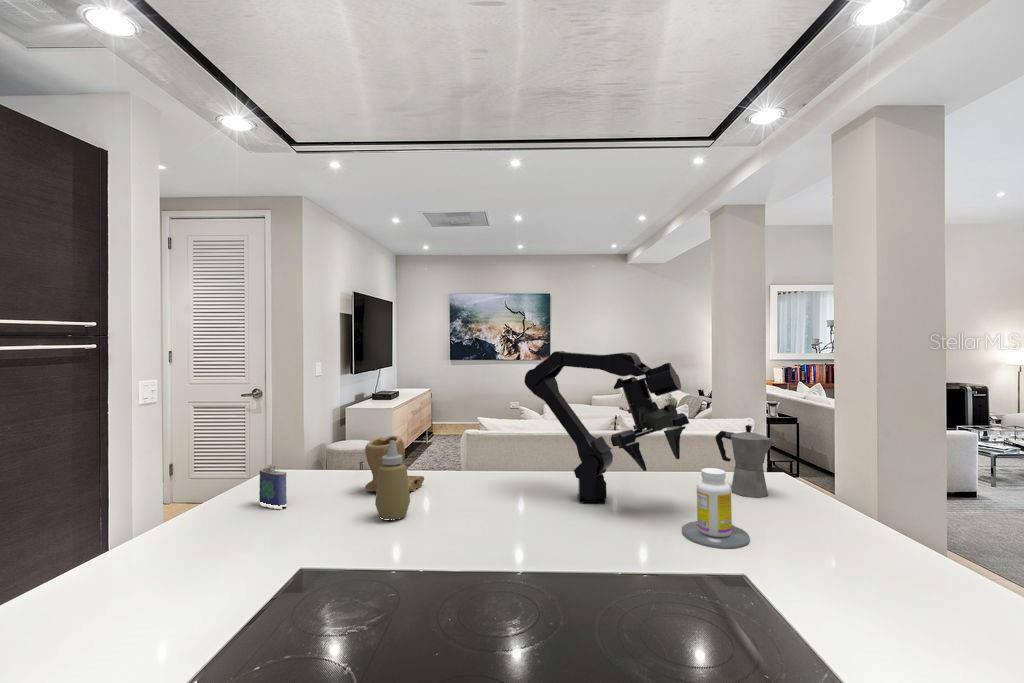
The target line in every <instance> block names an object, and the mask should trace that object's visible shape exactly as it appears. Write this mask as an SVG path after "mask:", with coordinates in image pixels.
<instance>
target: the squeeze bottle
mask: <svg viewBox="0 0 1024 683" xmlns="http://www.w3.org/2000/svg"><path fill="white" fill-rule="evenodd" d="M382 464H383V465H381V466H380V467H379V468H378V478H377V489H376V492H375V504H374V505H375V508H376V510H377V513H378V516H379V518H380V517H381V518H383V519H389V520H391V519H392V520H393V519H399V518H402V517H404V516H405V515H406V516H407V512H408V510H409V506H410V502H411V497H410V496H411V494H410V491H409V485H408V476H409V475H408V471H407V469H408V467H407V465H406V464H405V463H402V455H400V454H398V452H397V448H396V444H395V440H390V442H389V447H388V452H387V455H385V456H383V457H382ZM406 516H405V517H406ZM405 517H404V518H405ZM381 518H380V519H381ZM402 519H403V518H402ZM399 520H400V519H399Z"/></svg>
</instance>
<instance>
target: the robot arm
mask: <svg viewBox="0 0 1024 683" xmlns="http://www.w3.org/2000/svg"><path fill="white" fill-rule="evenodd" d="M565 367H570V368H579V369H580V368H581V369H589V370H590V369H593V370H600V371H603V372H606V373H609V374H611V375H616V376H618V377H619V378H617V379H616V382H615V384H614V386H613V389H614V390H618V389H622V390H623V394H624V396H625V400H626V401H627V404H628V405H627V406H628V409H627V412H628V414H631V417H632V420H633V422H634V425H632V426H633V429H627V430H622V431H619V432H616V433H612V434H611V435H610V436H611V437H610V442H611V445H612V447H618V449H622V450H624V451H625V452H626V453H627V454H628V455H629V456H630V457H631V459H633V460H634V462H636V464H637V465H638V466H639V468H640V469H641V470H642V471H644V472H646V471H647V466H646V463H645V460H644V457H643V455H642V453H641V450H640V442H639V441H636V440H637V438H640V437H643V436H646V435H648V434H652V433H655V432H659V431H663V433H664V436H665V438H666V441H667V443H668V445H669V447H670V450H671V451H672V454H673V456H674V458H675V459H676V460H680V455H681V453H680V452H681V447H680V446H681V444H680V442H681V435H682V433H683V431H684V430H685V429H686V425H688V424H690V421H689V418H688V416H687V415H686V414H685V413H683V412H681V413H678V410H677V409H676V406H675V404H673V403H670V404H666V405H664V407H662V408H659V406H658V403H657V402H656V401H653V398H652V396H651V394H654V395H655V396H656V397H659V396H664V395H667V394H669V393H670V394H671V393H673V392H676V391H681V390H682V383H681V379H680V377H679V374H677V372H676V370H675V369H674V367H673V366H672V364H671V362H666V363H664V364H661V365H659V366H656V367H654V368H651V367H650V366H648V365H646V364H645V363H644V362H642V360H641V358H640V357H639V355H638V354H637V353H635V352H631V351H630V352H620V353H619V352H618V353H609V354H596V353H594V354H593V353H583V352H582V353H580V352H570V351H569V352H567V351H564V350H560V351H559V350H558V351H553V352H552V353H551V354H550V355H549V356H548V357H547V358H545V359H544V360H543V361H541V362H540V363H539V364H537V365H536V366H535V367H534V368H532V369H529V370H528V371H527V372H526V373H525V376H524V380H523V381H524V384H525V386H526V388H527V389H528V390H529V391H530V392H531V393H532V394H534V395H535V396H536V397H537V398H539V399H541V400H542V401H544V402H545V403H546V405H547V407H548V408H549V410H550V411H551V412H552V414H553V415H554V416H555V418H556V420H558V422H559V423H560V424H561V426H562V427H563V429H564V430H565V432H566V433H567V434H568V435H569V437H570V438H571V440H572V441H573V443H574V445H576V450H577V455H578V458H579V459H580V461H581V463H580V464H579V465H578V466H576V468H574V469H573V472H574V475H575V478H576V479H577V481H578V484H577V486H578V493H577V498H578V502H579V501H580V502H598V503H597V504H606V503H605V502H607V501H606V500H607V482H606V480H605V476H604V474H605V473H606V472H607V469H608V468H610V467H611V465H612V464H613V461H614V460H613V459H614V455H613V454H614V453H612V451H611V450H612V447H611V446H610V445H609V444H607V441H606V440H605V438H604V437H603V436H599V437H595V436H593V435H592V434H591V433H590V432H589V430H588V429H587V427H586V426H585V425H584V424H583V422H582V421H581V420H580V418H579V417H578V415H577V414H576V413H575V411H574V410H573V409H572V407H571V406H570V404H569V403H568V402H567V400H566V399H565V398H564V396H563V395H562V393H561V392H560V388H559V384H558V381H557V379H556V377H557V376H558V375H560V373H561V371H562V370H563V369H564V368H565ZM628 376H632V377H629V378H626V379H623V378H621V377H628ZM640 376H645V377H643V378H640V379H638V377H640ZM664 429H665V430H664ZM580 502H579V503H580Z"/></svg>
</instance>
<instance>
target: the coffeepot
mask: <svg viewBox="0 0 1024 683" xmlns="http://www.w3.org/2000/svg"><path fill="white" fill-rule="evenodd" d="M744 427H745V430H746V431H742V432H733V431H725V430H720V431H719V432H718V433H717V434H716V435H715V438H714V439H715V442H716V445H717V447H718V450H719V453H720V455H721V456H720V457H721V459H722V461H724V462H730V461H732V458H730V457H727V453H726V451H727V450H726V449H725V445H724V441H723V438H724V439H727V440H731V446H732V452H733V459H734V461H735V462H734V464H735V466H734V468H733V469H734V470H733V476H732V481H731V487H730V488H731V493H733V494H735V495H736V496H737V495H738V496H741V497H746V498H755V499H758V498H759V499H760V498H761V499H762V498H765V497H767V496H768V495H769V493H768V488H767V482H766V478H765V477H766V476H765V471H764V463H765V460H766V454H767V453H768V451H769V450H770V448H771V447H772V446H773V445H774V444H775V443H776V444H777V441H776V440H775V439H773V438H770V437H767V435H764V434H759V433H755V432H752V427H753V426H752V425H750V424H747V425H744Z"/></svg>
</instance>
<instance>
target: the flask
mask: <svg viewBox="0 0 1024 683" xmlns="http://www.w3.org/2000/svg"><path fill="white" fill-rule="evenodd" d="M276 467H277V464H276V463H274V464H271V463H270V464H267V467H265V468H261V469H260V470H259V492H258V494H259V500H258V501H260V502H263V503H266V504H271V505H278V506H280V505H285V504H287V502H288V501H287V472H286V471H279V470H276ZM287 505H288V504H287Z"/></svg>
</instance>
